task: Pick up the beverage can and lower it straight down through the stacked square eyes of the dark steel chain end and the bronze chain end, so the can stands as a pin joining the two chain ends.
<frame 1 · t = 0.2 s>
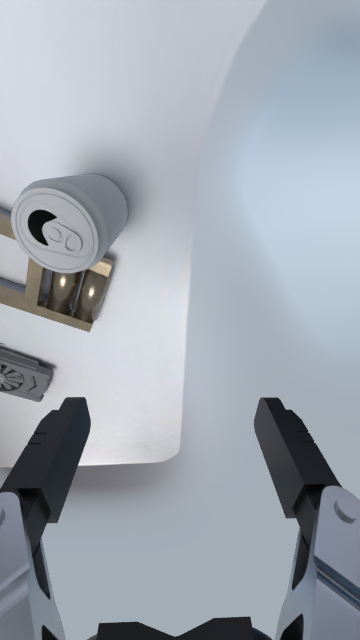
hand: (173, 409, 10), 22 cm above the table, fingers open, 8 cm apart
bronze chain end: (6, 253, 28), on the table
beverage can: (100, 207, 25), on the table
graphics card: (2, 364, 39), on the table
steel chain end: (6, 253, 28), on the table
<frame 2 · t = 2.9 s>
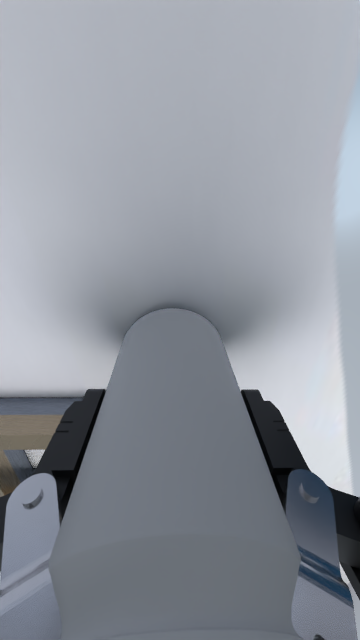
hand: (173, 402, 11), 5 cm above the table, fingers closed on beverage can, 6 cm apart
bronze chain end: (66, 442, 19), on the table
beverage can: (173, 344, 15), on the table, touching gripper
steel chain end: (66, 442, 19), on the table
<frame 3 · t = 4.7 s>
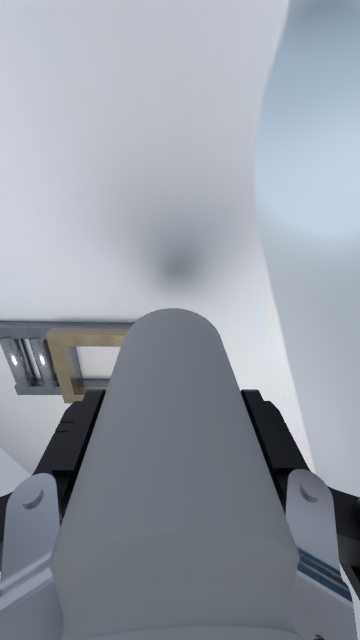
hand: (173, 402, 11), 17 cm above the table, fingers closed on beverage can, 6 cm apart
bronze chain end: (106, 357, 30), on the table
beverage can: (173, 344, 15), point 12 cm above the table, touching gripper
steel chain end: (106, 357, 30), on the table
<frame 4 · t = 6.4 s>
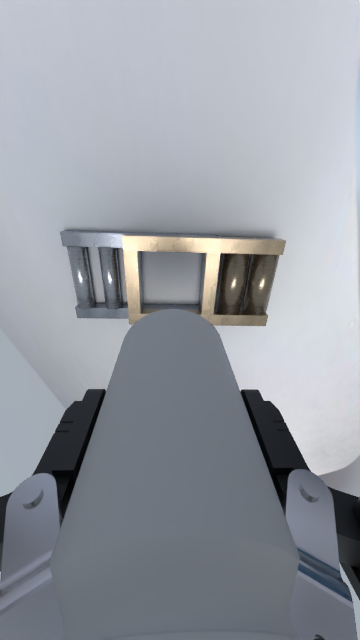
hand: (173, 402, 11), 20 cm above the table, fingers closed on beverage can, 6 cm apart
bronze chain end: (171, 277, 29), on the table
beverage can: (173, 345, 15), point 16 cm above the table, touching gripper
steel chain end: (171, 277, 29), on the table
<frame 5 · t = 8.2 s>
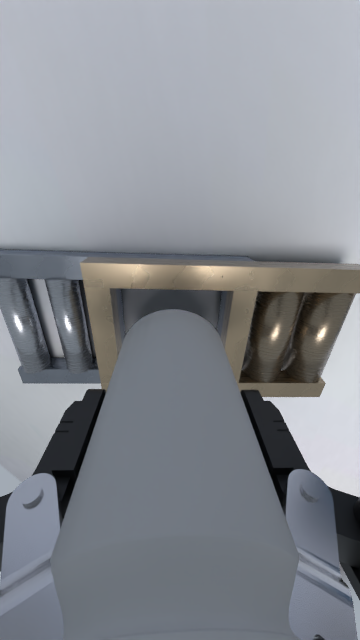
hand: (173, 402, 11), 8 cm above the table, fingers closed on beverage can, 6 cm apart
bronze chain end: (171, 321, 18), on the table
beverage can: (173, 345, 15), point 3 cm above the table, touching gripper
steel chain end: (171, 321, 18), on the table
when the fingers open (6 cm above the table, at t = 9.7 s): beverage can stays where it is, resting in steel chain end.
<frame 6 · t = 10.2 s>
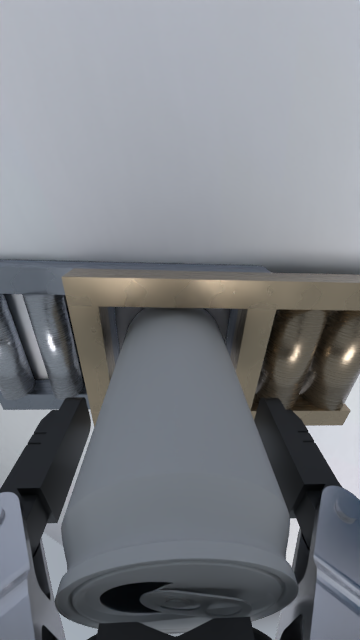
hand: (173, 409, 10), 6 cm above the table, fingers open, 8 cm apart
bronze chain end: (172, 338, 16), on the table
beverage can: (174, 336, 16), resting in steel chain end
steel chain end: (172, 338, 16), on the table
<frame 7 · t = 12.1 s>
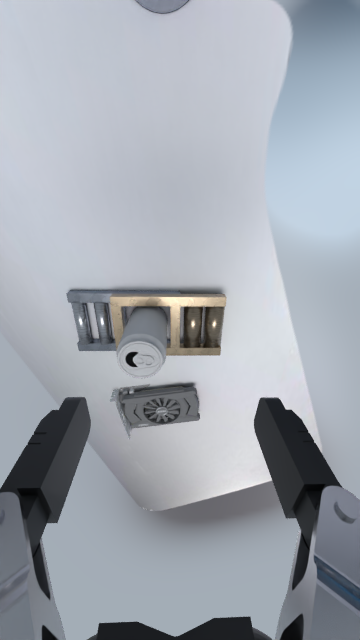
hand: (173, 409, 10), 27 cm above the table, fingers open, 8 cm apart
bronze chain end: (148, 320, 39), on the table
beverage can: (149, 319, 39), resting in steel chain end
graphics card: (159, 403, 48), on the table
steel chain end: (148, 320, 39), on the table
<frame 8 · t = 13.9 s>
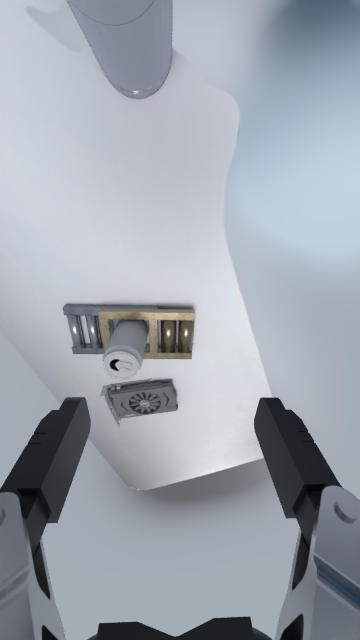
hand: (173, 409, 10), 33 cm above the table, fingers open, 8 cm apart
bronze chain end: (132, 329, 46), on the table
beverage can: (132, 328, 47), resting in steel chain end
graphics card: (143, 396, 56), on the table
steel chain end: (132, 329, 46), on the table
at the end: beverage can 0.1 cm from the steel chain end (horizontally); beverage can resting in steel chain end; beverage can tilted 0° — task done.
